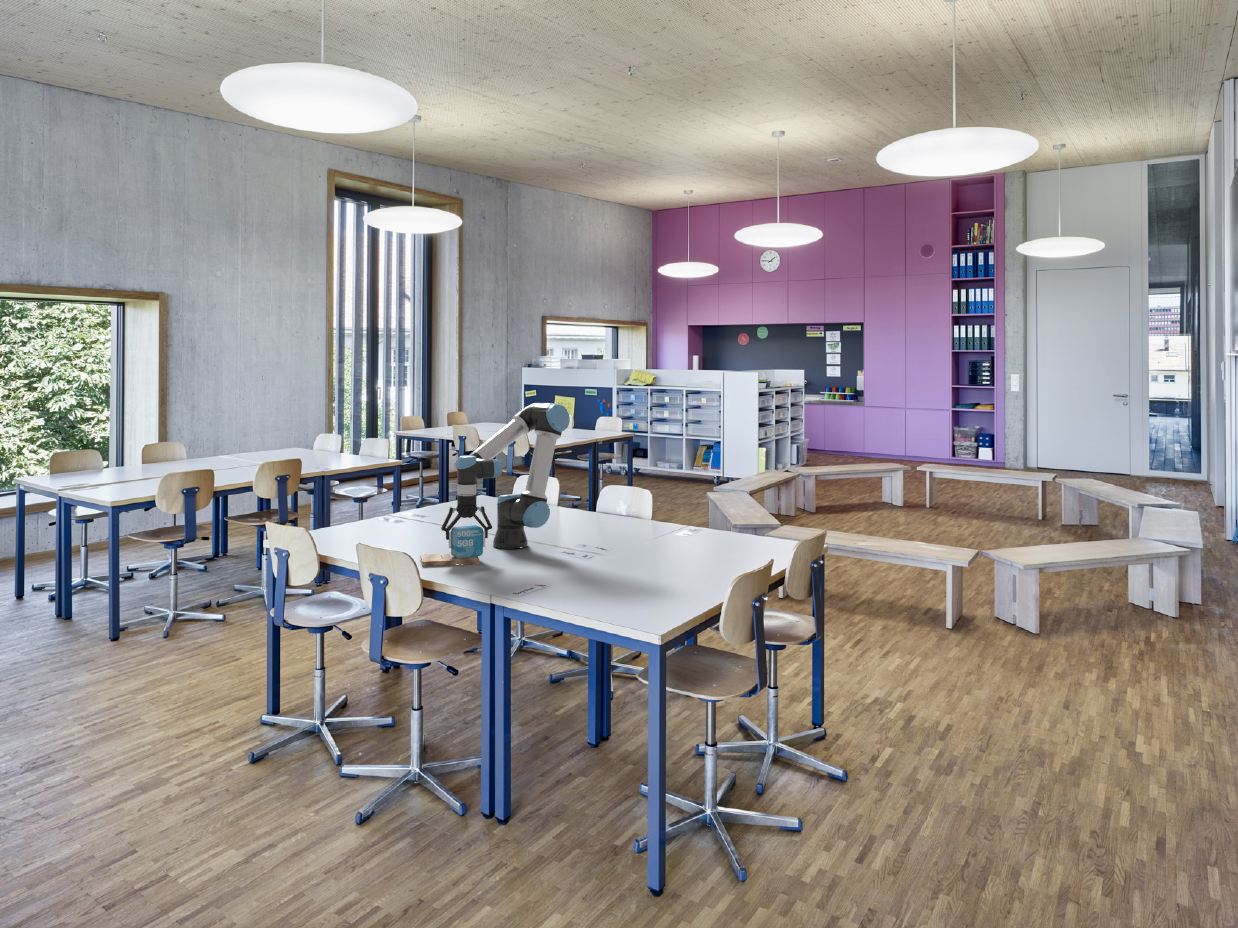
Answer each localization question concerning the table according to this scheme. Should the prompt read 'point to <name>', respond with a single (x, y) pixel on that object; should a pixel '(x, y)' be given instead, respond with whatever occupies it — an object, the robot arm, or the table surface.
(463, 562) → the oak board
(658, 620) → the table surface
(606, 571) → the table surface
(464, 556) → the data package
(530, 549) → the table surface
